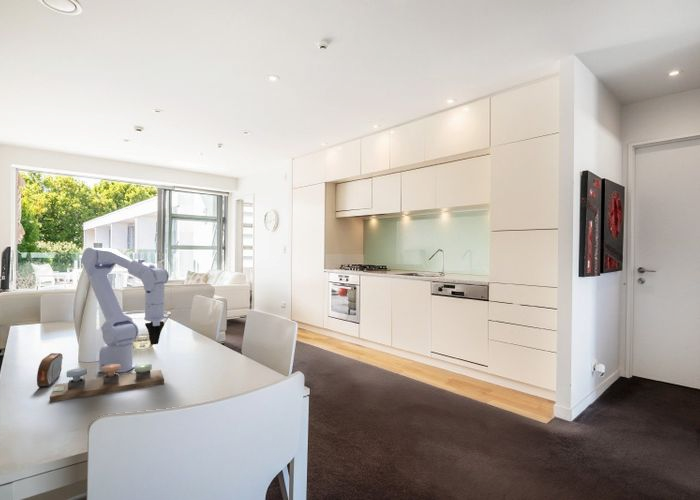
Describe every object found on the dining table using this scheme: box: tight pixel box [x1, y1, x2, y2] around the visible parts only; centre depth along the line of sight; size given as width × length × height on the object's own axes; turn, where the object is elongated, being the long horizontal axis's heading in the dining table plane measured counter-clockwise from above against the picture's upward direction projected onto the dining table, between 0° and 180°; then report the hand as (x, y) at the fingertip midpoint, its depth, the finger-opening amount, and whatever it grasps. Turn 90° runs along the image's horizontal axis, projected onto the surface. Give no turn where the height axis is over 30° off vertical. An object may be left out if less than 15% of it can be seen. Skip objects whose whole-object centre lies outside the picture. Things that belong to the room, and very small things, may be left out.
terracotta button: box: [101, 364, 121, 377], centre depth 114 cm, size 5×5×3 cm
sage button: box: [133, 363, 153, 373], centre depth 118 cm, size 5×5×3 cm
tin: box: [36, 352, 63, 388], centre depth 117 cm, size 15×3×8 cm, turn 23°
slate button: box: [65, 367, 88, 382], centre depth 109 cm, size 5×5×3 cm
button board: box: [49, 369, 165, 403], centre depth 114 cm, size 28×11×3 cm, turn 122°
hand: (154, 344), depth 127 cm, fingers closed
